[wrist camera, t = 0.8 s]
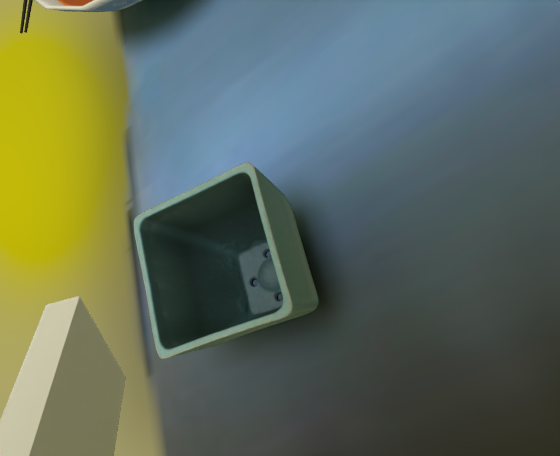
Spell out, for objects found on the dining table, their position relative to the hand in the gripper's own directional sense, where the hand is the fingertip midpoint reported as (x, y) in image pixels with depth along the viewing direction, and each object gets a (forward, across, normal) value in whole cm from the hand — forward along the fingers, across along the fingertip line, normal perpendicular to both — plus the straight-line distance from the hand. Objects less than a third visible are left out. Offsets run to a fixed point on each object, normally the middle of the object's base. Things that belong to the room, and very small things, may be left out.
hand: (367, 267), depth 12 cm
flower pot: (+19, -2, -14) cm, 24 cm away
